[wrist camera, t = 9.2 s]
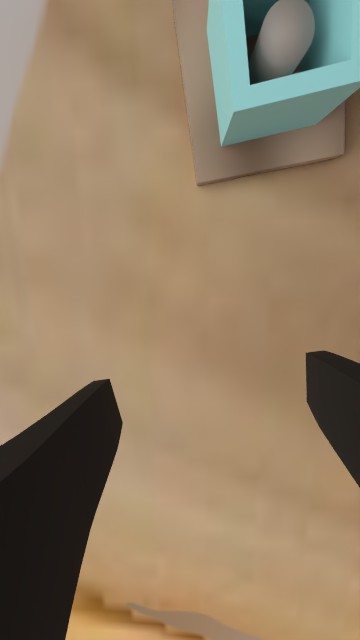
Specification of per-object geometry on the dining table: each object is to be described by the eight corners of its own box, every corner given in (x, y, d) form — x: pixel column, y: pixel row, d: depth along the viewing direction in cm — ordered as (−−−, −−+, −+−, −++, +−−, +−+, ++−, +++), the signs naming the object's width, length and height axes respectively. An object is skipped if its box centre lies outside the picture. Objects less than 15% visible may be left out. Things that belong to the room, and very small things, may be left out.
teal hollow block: (313, -1, 12) (377, -123, 8) (315, 124, 14) (371, 78, 10) (206, 29, 13) (214, -71, 8) (221, 146, 14) (233, 112, 10)
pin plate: (337, -30, 13) (411, -162, 8) (334, 158, 15) (390, 130, 11) (173, 14, 13) (165, -87, 9) (197, 185, 16) (199, 170, 12)
